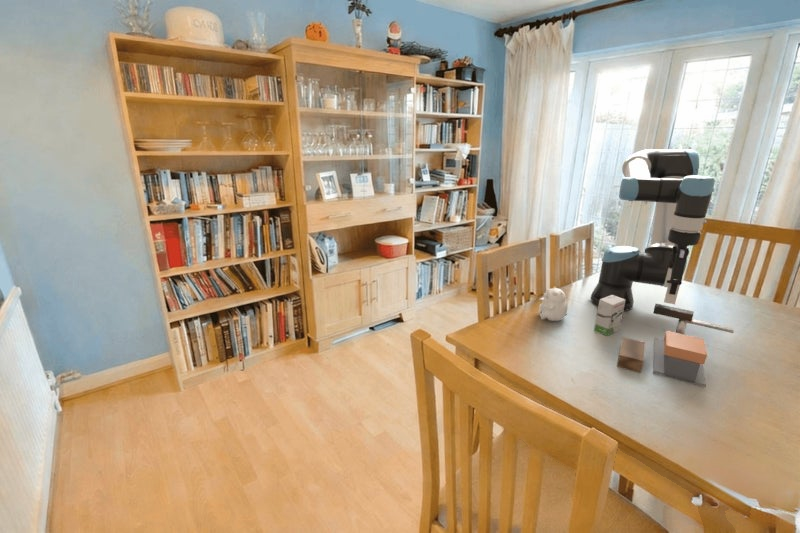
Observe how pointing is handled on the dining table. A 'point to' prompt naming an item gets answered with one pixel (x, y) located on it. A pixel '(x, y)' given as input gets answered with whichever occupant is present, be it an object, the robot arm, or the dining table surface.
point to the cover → (685, 347)
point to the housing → (677, 366)
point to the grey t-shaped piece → (686, 318)
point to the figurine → (553, 305)
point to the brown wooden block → (631, 354)
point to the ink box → (609, 315)
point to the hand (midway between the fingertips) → (669, 294)
